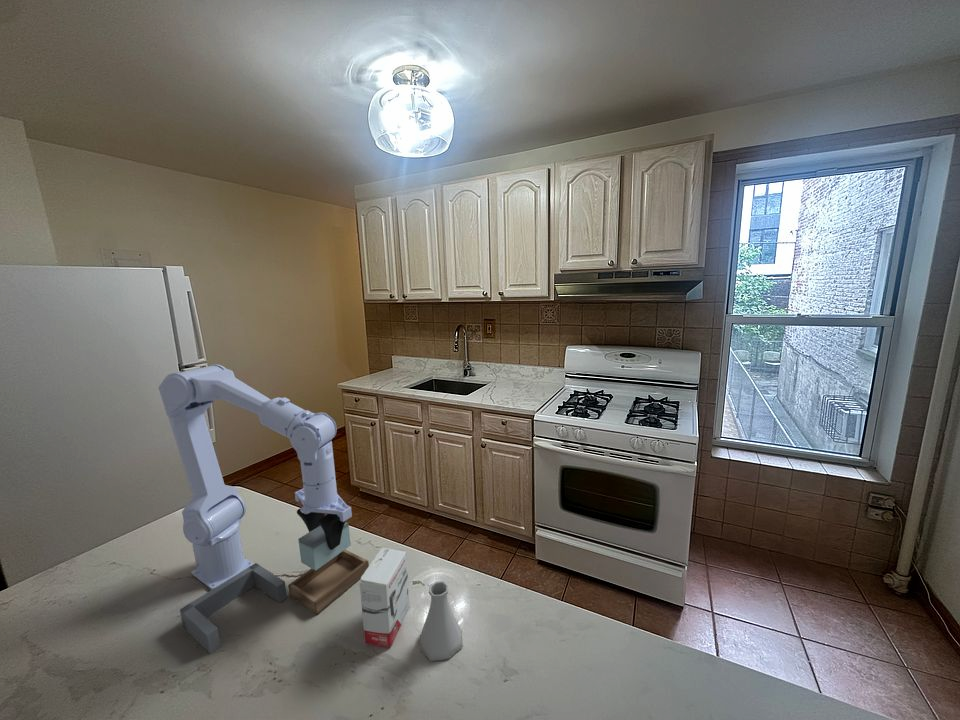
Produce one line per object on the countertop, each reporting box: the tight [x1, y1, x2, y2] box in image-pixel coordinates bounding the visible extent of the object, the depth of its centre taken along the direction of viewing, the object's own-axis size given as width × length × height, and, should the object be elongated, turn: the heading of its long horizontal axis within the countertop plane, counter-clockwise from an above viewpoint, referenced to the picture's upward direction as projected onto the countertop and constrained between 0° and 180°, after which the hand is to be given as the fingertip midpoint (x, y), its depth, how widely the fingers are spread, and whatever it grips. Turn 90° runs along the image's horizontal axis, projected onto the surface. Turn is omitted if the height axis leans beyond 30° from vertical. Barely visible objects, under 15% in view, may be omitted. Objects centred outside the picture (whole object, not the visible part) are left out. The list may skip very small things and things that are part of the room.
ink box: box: [359, 547, 411, 648], centre depth 63 cm, size 9×5×12 cm, turn 168°
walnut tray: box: [287, 549, 370, 616], centre depth 74 cm, size 9×12×2 cm
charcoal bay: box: [179, 562, 288, 654], centre depth 67 cm, size 10×13×4 cm
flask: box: [419, 580, 463, 662], centre depth 60 cm, size 7×7×10 cm
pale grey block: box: [298, 521, 351, 571], centre depth 72 cm, size 4×8×5 cm, turn 149°
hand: (326, 542), depth 72 cm, fingers closed on pale grey block, 4 cm apart
